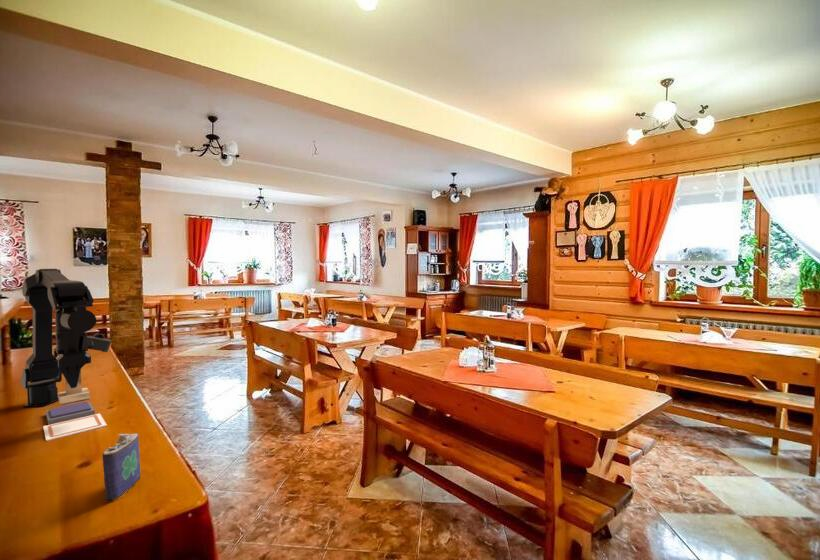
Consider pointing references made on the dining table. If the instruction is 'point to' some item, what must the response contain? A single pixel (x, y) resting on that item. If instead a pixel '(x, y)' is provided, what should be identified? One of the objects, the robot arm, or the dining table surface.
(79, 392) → the stamp
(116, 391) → the dining table surface
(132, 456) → the flask
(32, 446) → the dining table surface
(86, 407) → the ink pad
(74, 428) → the print card
